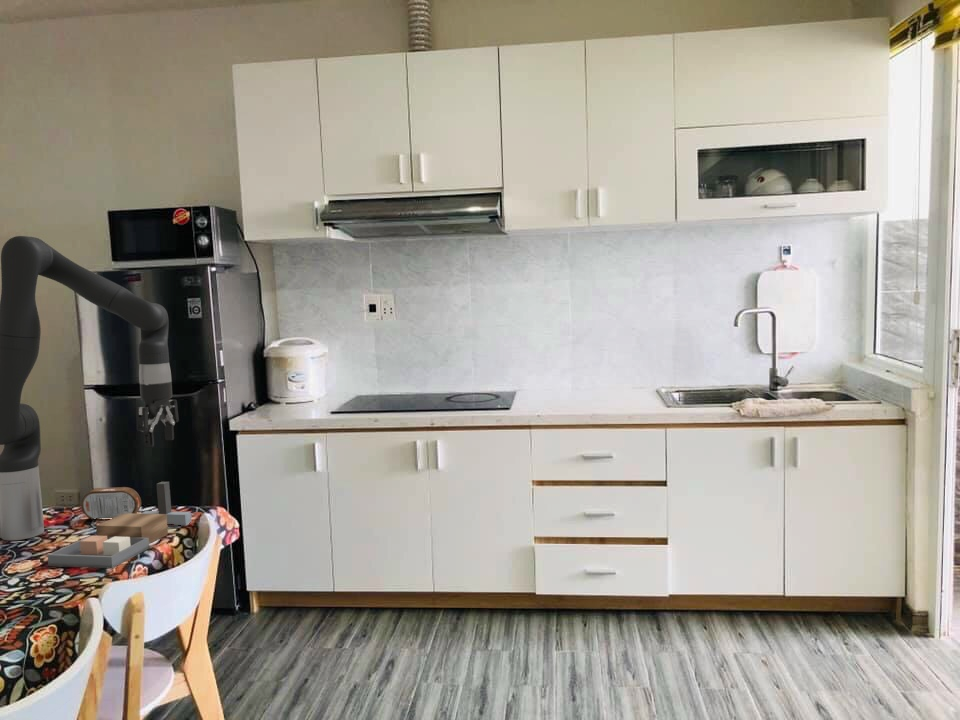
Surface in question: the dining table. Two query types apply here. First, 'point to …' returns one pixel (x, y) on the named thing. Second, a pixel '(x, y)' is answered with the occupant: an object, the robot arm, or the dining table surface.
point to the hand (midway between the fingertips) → (159, 443)
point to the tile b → (115, 545)
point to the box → (96, 555)
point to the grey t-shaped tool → (169, 507)
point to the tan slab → (135, 526)
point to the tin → (110, 502)
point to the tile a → (92, 544)
